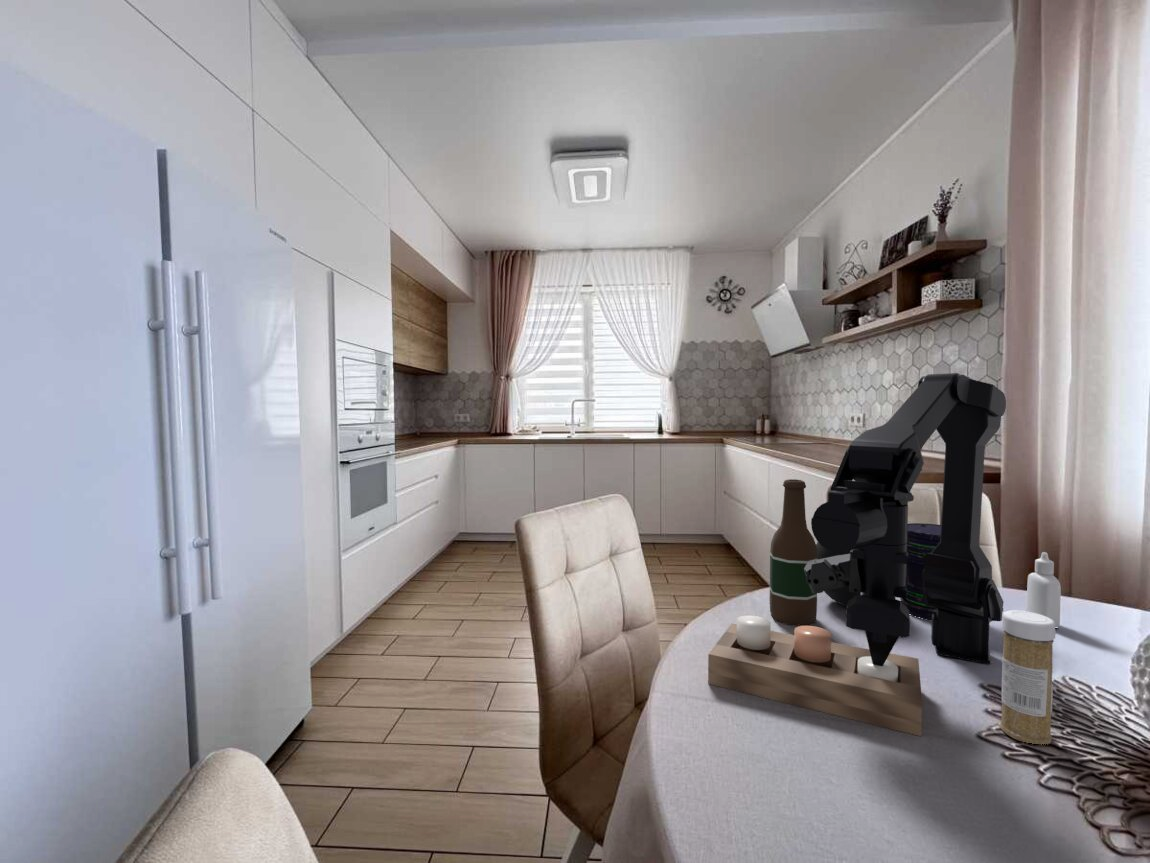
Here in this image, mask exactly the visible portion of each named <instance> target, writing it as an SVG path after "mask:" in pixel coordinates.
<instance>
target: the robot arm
mask: <svg viewBox="0 0 1150 863" xmlns="http://www.w3.org/2000/svg"><path fill="white" fill-rule="evenodd" d="M1006 408H1007V399H1006V394H1005V393H1004V392H1003V390H1001V389H1000V388H998V387H997V386H996V385H994V384H993V383H988V382H985V381H980V380H976V379H972V378H970V377H968V376H966V375H964V374H960V373H957V372H955V373H954V372H951V373H950V372H949V373H931V374H929V373H928V374H927V375H925V376H924V375H923V376H922V377H920V379H919V380H918V384H917V387H916V388H915V390H914V391H913V392H911V394H910V396H909V397H908V398H907V399H906V400H905V401H904V402H903V403H902V405H901V406H900V407H898V409H897V411H895V413H894V414H893V415H892V416H891V417H890V418H889V420H888V421H886V422H885V423H884V424H882V425H880V426H876V427H873V428H871V429H867V430H865V431H864V432H863V433H861V434H860V435H858V436H856V437H855V438H854V439H853V440H852V441H851V442H850V444H849V446H848V448H847V449H846V451H845V453H844V455H843V457H842V459H841V462H840V465H839V467H838V469H837V472H836V475H835V477H834V479H833V482H832V484H831V486H830V490H829V491H828V493H827V494H828V495H827V501H826V502H824V503H822V504H820V505H819V506H818V507H817V508H816V510H815V511H814V513H813V516H812V517H811V520H810V521H811V522H810V524H811V530H812V534H813V536H814V539H816V540H815V541H817V542H819V543H820V545H821V546H823V547H824V548H825V549H827V550H829V551H832V552H836V553H841V552H846V551H849V550H851V551H850V554H845V555H837V556H833V557H828V558H823V559H818V560H814V561H810V562H808V563H807V564H806V566H805V568H804V572H805V574H806V583H807V584H809V585H810V588H811V591H812V593H814V594H816V593H817V594H822V593H824V591H825V590H830V589H836V588H841V587H846V586H848V585H849V592H855V593H860V595H856V596H854V597H853V598H851V599H850V600H849V601H848V604H847V606H846V609H845V627H848V628H850V629H853V630H857V631H863V632H865V636H866V640H867V645H868V649H869V650H870V655H871V659H872V663H873V665H878V666H883V665H884V663H885V661H886V659H887V657H888V656H889V654H890V653H891V652H892V650H893V648H894V646H895V644H897V642H898V640H899V638H903V639H904V638H909V637H911V636H910V635H911V634H910V632H911V631H910V627H911V626H910V624H911V617H910V616H911V615H909V609H908V608H907V606H906V605H904V604H903V603H902V602H901V600H900V598H904V599H906V596H907V576H906V573H907V528H908V524H909V523H908V522H909V521H908V519H909V503H910V502H912V501H914V498H915V496H914V495H913V494H912V492H911V490H912V489H913V487H914V485H915V482H916V480H917V479H918V477H919V475H920V473H921V472H922V471H923V466H924V463H925V462H924V459H923V454H922V449H923V448H924V446H925V444H926V443H927V441H929V439H930V438H931V437H932V435H933V434H934V433H935V431H937V433H938V434H939V437H941V439H942V441H943V442H944V445H945V446H944V447H945V450H944V464H943V465H944V466H943V468H944V469H943V482H942V483H943V485H942V503H941V521H940V525H941V535H940V543H939V544H938V545H937V546H936V547H935V548H934V550H933V551H932V552H931V553H927V554H926V556H925V557H924V570H923V572H922V575H921V584H922V591H923V597H924V603H925V606H931V607H935V608H937V611H936V614H934V613H933V614H932V621H931V628H930V629H931V634H930V635H931V636H930V638H931V645H933V647H935V652H936V654H937V655H940V656H945V657H951V658H955V659H961V660H967V661H972V662H978V663H981V664H982V663H983V664H991V663H992V659H991V656H990V654H989V652H990V648H989V647H990V623H991V622H1002V615H1003V613H1004V600H1003V597H1002V595H1001V593H1000V591H999V589H998V587H997V585H996V582H995V581H994V580H993V567H992V566H993V565H992V564H991V562H990V561H989V559H988V558H987V555H986V554H985V553H984V551H983V549H982V548H981V546H980V538H981V536H980V535H981V520H982V501H983V487H984V486H983V484H984V469H985V466H984V465H985V452H986V451H985V450H986V449H985V448H986V445H987V444H988V443H989V442H990V441H991V439H992V438H993V437H994V436H995V435H996V433H997V432H998V431H999V430H1000V428H1001V421H1002V416H1004V414H1005V412H1006ZM896 598H898V599H899V600H898V599H896Z"/></svg>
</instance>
